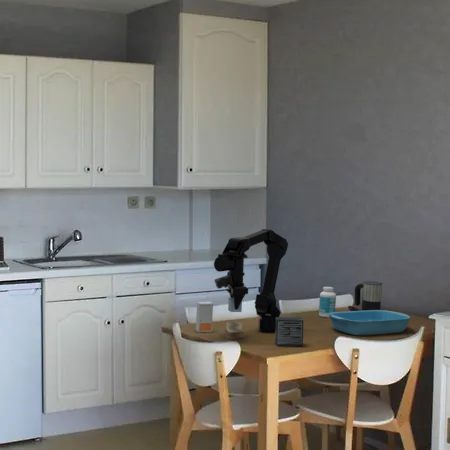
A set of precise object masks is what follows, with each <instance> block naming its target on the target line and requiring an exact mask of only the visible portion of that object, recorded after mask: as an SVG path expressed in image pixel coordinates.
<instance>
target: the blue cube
mask: <svg viewBox="0 0 450 450" xmlns="http://www.w3.org/2000/svg"><path fill="white" fill-rule="evenodd" d="M242 304H243V301H242V302H241V304H240V306H239V308H238V309H237V310H235V306H234V298H230V297H228V304H227V310H228V311H229V312H230V313H242V311H243V310H242V309H243V307H242V306H243V305H242Z"/></svg>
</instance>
